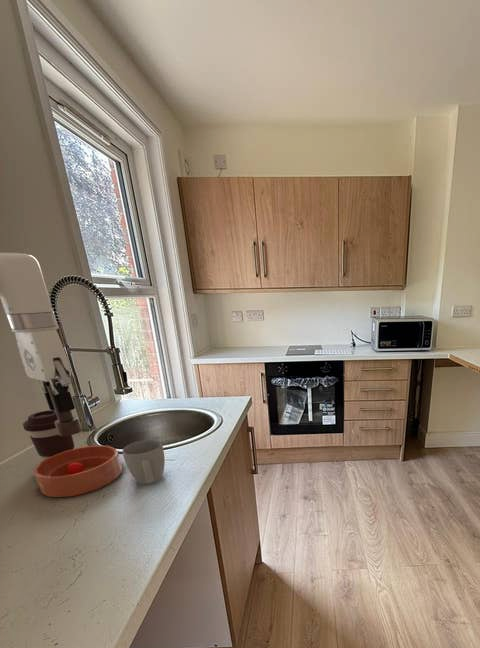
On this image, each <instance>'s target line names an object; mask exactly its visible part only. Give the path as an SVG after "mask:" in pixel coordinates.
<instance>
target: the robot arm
mask: <svg viewBox="0 0 480 648" xmlns="http://www.w3.org/2000/svg"><path fill="white" fill-rule="evenodd" d="M44 279H45V278H44V276H43V272H42V269H41V266H40V263H39V261H38V260H37V258H36V257H34V256H33V255H32V254H28V253H21V252H0V301H1V305H2V307H3V310H4V314H5V315H6V318H7V321H8V325H9V327H10V329H11V332H12V333H14V335H15V339H16V340H15V341H16V344H17V349H18V352H19V355H20V358H21V362H22V365H23V368H24V371H25V374H26V376H27V377H28V378H30V379H32V380H36V381H38V382H39V384H40V386H41V390H42V391H43V394H44V397H45V399H46V403H47V406H48V407H49V410H55V409H54V406H53V403H52V400H51V397H50V394H49V391H48V389H47V386H48V385H51V388H52V391H53V393H54V395H52V397H53V399H54V402H55V405H56V408H57V411H58V412H59V413H62V412H66V411H70V410H71V411H73V410H75V409H76V406H75V404H74V400H73V397H72V393H71V388H70V384H71V382H72V381H71V379H70V377H71V376H72V370H71V365H70V363H69V359H68V356H67V354H66V351H65V348H64V345H63V342H62V340H61V338H60V335H59V333H58V331H57V330H58V329H59V324H58V321H57V318H56V314H55V311H54V309H53V304H52V302H51V298H50V296H49V291H48V288H47V286H46V281H45V280H44ZM57 377H58V378H57ZM56 384H57V386H56Z"/></svg>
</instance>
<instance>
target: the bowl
mask: <svg viewBox="0 0 480 648" xmlns="http://www.w3.org/2000/svg"><path fill="white" fill-rule="evenodd" d="M74 462H78V463H80V464H82V465H83V467H84V471H83V472H80V473H77V474H71V475H69V474H68V473H67V467H68V465H69V464H71V463H74ZM122 471H123V467H122V463H121V460H120V456H119V453H118V450H117V449H116V448H115V447H113V446H110V445H104V444H103V445H101V444H99V445H98V444H97V445H87V446H81V447H74V449H72V450H68V451H64V452H61V453H59V454H56V455H53V456H51V457H49V458H47V459H45V460H42V461H40V462H39V463H38V464H37V465H35V467H34V468H33V474H34V477H35V479H36V482H37V485H38V487H39V489H40V492H41V494H43V495H45V496H47V497H50V498H52V497H53V498H64V497H65V498H68V497H75V496H79V495H84V494H86V493H90V492H93V491H96V490H99V489H101V488H103V487H105V486H107V485H109V484H111V483H112V482H114V481H115V480H116V479H117V478H118V477H119V476H120V475H121V474H122Z"/></svg>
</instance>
